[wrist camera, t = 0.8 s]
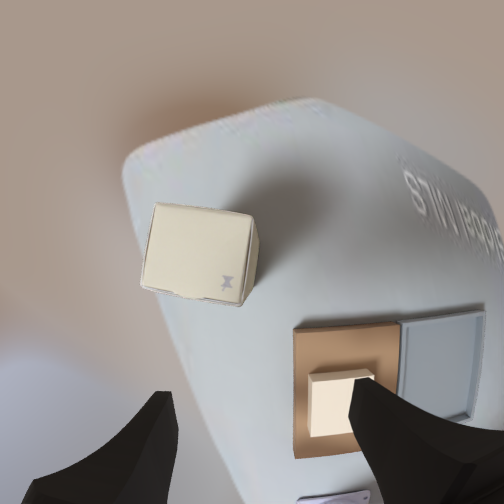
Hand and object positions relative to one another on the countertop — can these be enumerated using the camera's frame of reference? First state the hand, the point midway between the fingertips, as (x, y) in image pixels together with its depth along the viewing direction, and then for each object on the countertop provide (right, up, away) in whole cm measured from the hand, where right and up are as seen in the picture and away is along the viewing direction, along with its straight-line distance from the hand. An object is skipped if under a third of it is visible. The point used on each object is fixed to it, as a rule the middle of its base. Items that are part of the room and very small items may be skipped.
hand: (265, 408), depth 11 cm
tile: (+7, -6, +13) cm, 16 cm away
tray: (+18, -6, +15) cm, 24 cm away
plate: (+8, -6, +15) cm, 18 cm away
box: (-3, +5, +16) cm, 17 cm away
